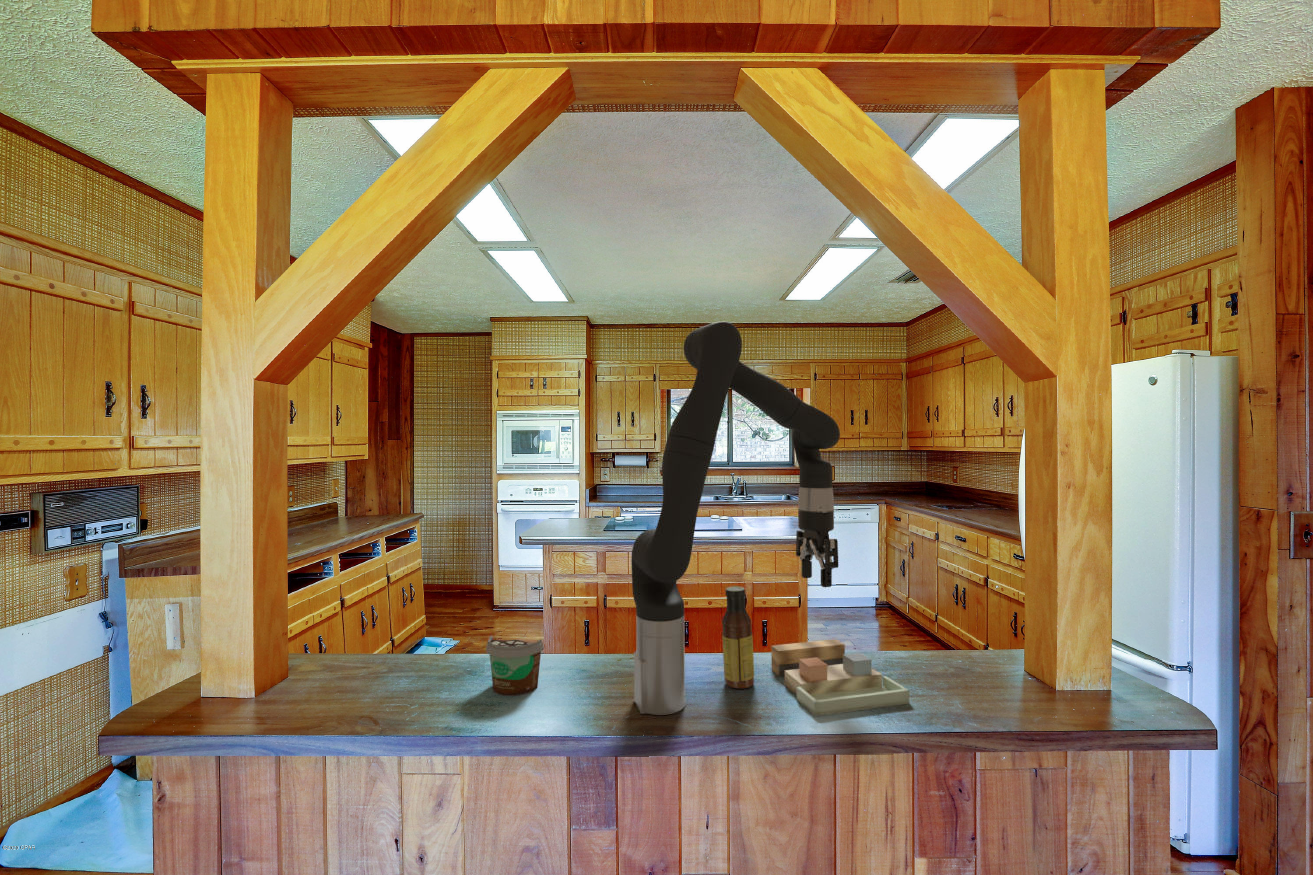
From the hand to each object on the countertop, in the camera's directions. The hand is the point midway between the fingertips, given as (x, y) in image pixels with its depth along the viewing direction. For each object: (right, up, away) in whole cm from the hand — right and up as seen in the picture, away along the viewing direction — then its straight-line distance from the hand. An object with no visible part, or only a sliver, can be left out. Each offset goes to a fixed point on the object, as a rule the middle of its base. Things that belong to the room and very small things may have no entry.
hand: (816, 582), depth 127 cm
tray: (+3, -19, -15) cm, 25 cm away
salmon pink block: (-3, -16, -11) cm, 20 cm away
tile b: (+6, -16, -8) cm, 19 cm away
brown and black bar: (-1, -20, +1) cm, 20 cm away
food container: (-65, -20, -9) cm, 68 cm away
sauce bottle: (-18, -20, -7) cm, 28 cm away
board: (+1, -19, -8) cm, 21 cm away
